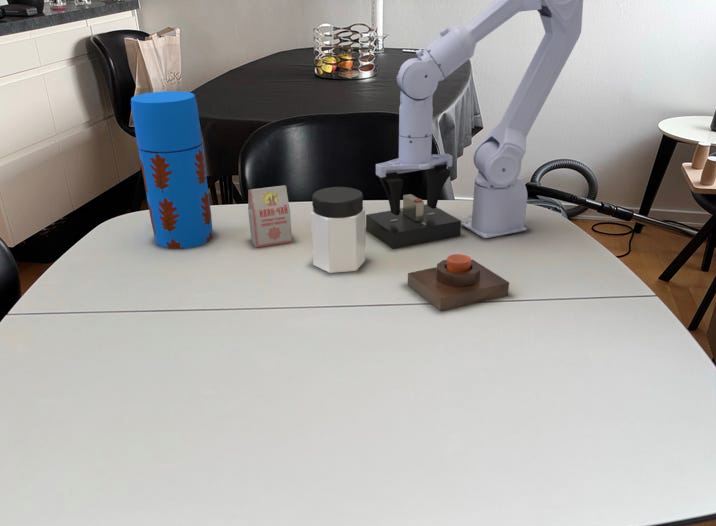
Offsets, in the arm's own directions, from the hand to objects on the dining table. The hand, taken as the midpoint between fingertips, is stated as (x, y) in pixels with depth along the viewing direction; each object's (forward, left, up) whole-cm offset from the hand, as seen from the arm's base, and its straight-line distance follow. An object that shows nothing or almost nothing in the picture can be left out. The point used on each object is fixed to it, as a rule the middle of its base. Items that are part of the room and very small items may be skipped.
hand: (413, 210), depth 126 cm
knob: (0, 0, -1) cm, 1 cm away
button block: (+6, +25, -4) cm, 26 cm away
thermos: (+39, -17, -5) cm, 43 cm away
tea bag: (+25, -8, -5) cm, 27 cm away
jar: (+18, +7, -5) cm, 20 cm away
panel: (0, 0, -4) cm, 4 cm away
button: (+6, +25, -1) cm, 26 cm away
